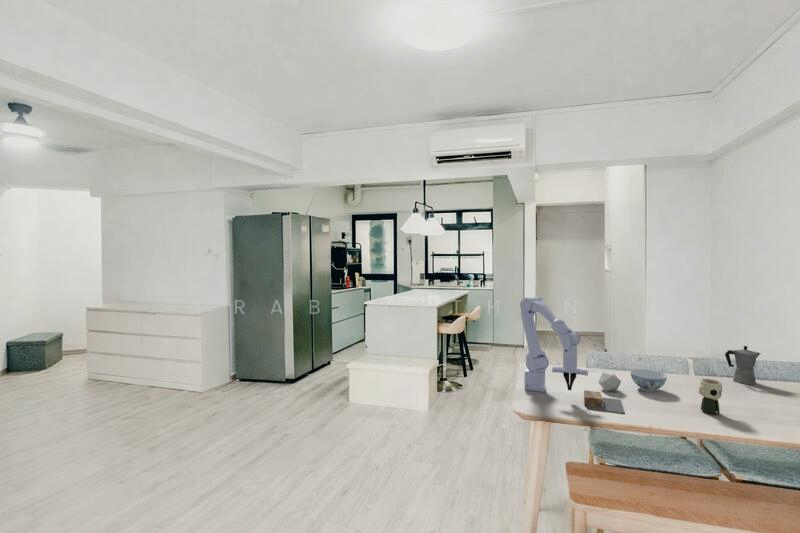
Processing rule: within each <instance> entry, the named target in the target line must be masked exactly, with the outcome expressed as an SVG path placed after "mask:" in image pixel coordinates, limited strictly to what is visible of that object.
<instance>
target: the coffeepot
mask: <svg viewBox="0 0 800 533" xmlns="http://www.w3.org/2000/svg"><path fill="white" fill-rule="evenodd" d="M730 355H734V359H735V365H736V367H735V365H734V364H732V360H731V357H730ZM760 355H761V353H760V352H757V351H753V350H749V349H748V346H747V345H743V349H734V350H733V349H732V350H731V349H729V350H727V351H726V352H725V353H724V356H725V359H726V361H727V362H726V363H727V364H728V367H730V368H731V367H732V368H733V367H735V370H734V374H733V377H732V381H734V383H738V384H741V385H749V386H750V385H751V386H754V385H756V384H757V381H756V380H757V379H756V374H755V370H754V369H755V368H754V367H755V365H756V361H757V358H758V357H759V356H760Z"/></svg>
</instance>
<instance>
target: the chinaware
mask: <svg viewBox="0 0 800 533" xmlns="http://www.w3.org/2000/svg"><path fill="white" fill-rule="evenodd" d="M629 373H630V376H631V380H632V381H633V383H634V384H635V385H636V386H637V387H639V390H641V391H643V392H646V393H655V392H656V391H657V390H659V389H660V388H662V387H663V386H664V385H665V383H666V381H667V378H668V375H667V374H665V373H664V372H662V371H659V370H653V369H646V368H645V369H644V368H635V369H631V370H630V371H629Z"/></svg>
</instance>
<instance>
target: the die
mask: <svg viewBox="0 0 800 533" xmlns="http://www.w3.org/2000/svg"><path fill="white" fill-rule="evenodd" d="M597 383H598V384H599V386H601V388H602V389H603V390H604V391H605V392H617V391H618V389H619V388H620V385H621V383H622V381H621V379H620V378H619V377H618V375H616V373H615V372H602V373H601V375H600V378H599V380H598V382H597Z"/></svg>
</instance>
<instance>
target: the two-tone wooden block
mask: <svg viewBox="0 0 800 533" xmlns="http://www.w3.org/2000/svg"><path fill="white" fill-rule="evenodd" d="M602 397H603V394H602V392H601V391H595V390H587V389H586V390H585V389H584V390H583V401H584V406H587V405H588V406H596V407H603V398H604V397H603V398H602Z"/></svg>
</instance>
